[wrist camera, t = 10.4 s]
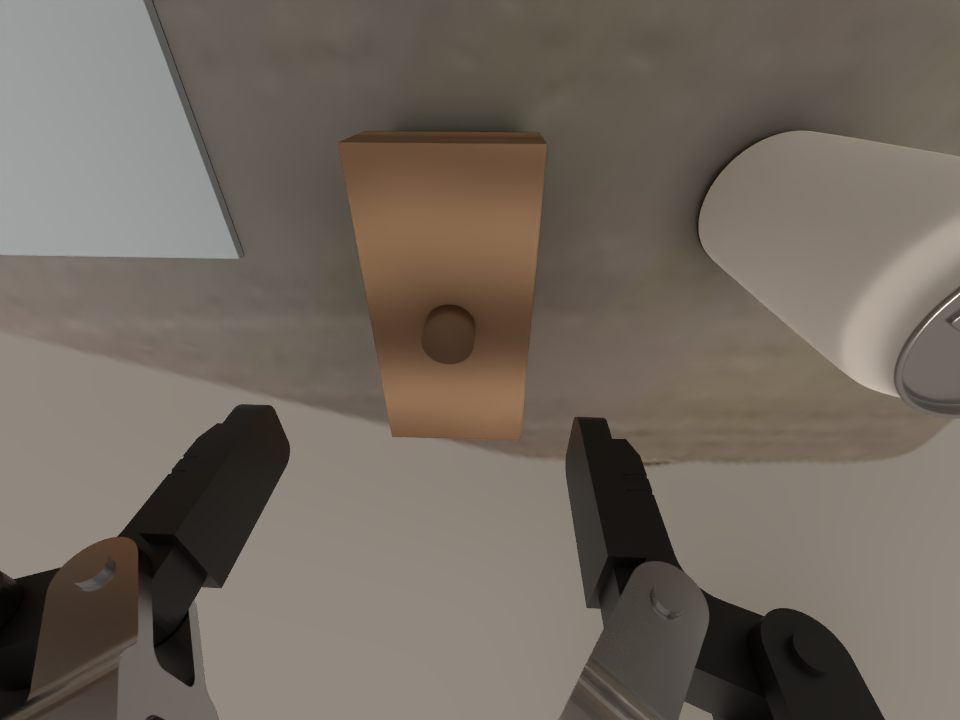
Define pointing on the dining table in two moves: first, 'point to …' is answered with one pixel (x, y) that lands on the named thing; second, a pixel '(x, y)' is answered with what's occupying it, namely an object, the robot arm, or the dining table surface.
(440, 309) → the lid
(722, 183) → the can
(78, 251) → the mat
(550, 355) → the dining table surface
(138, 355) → the dining table surface
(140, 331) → the dining table surface
